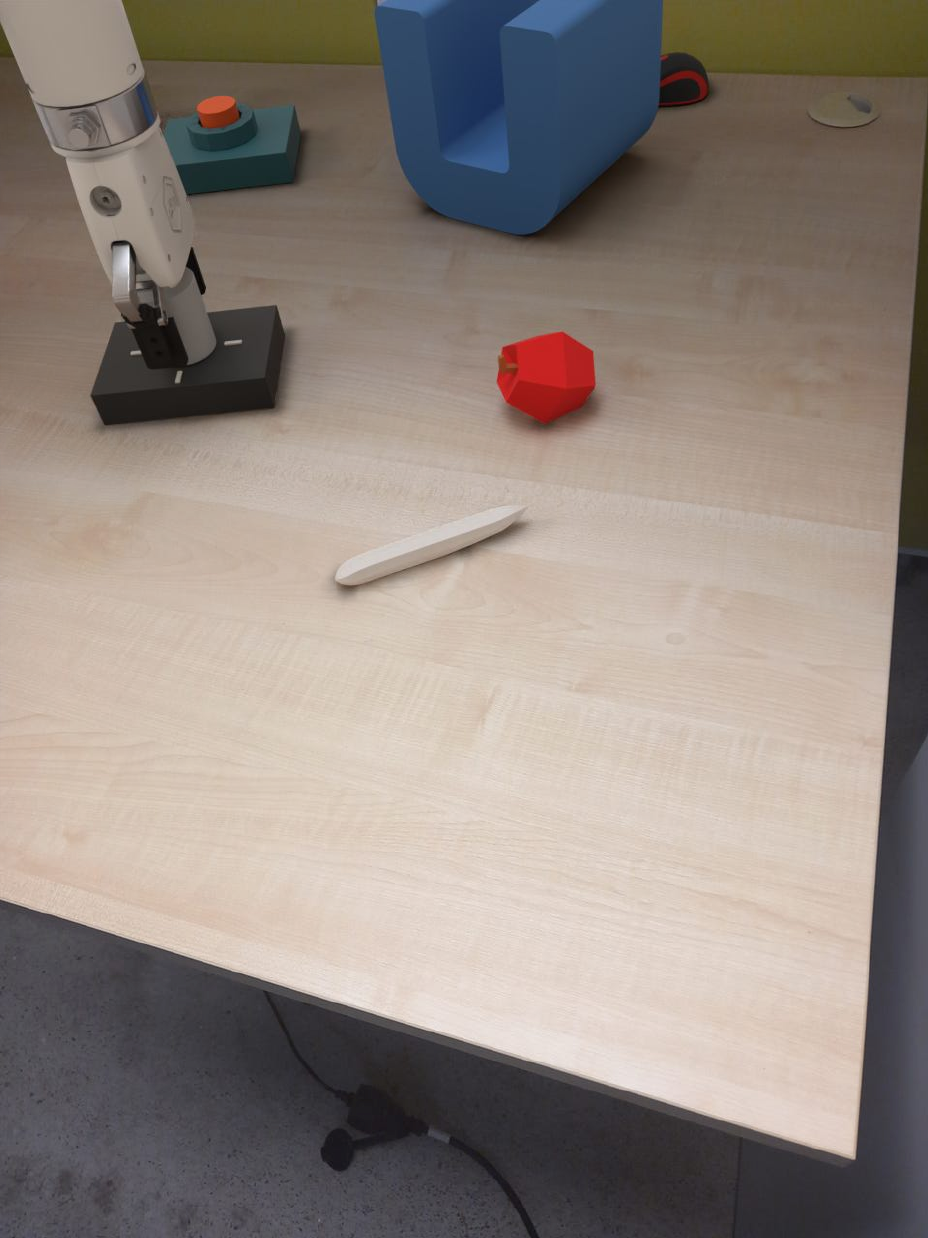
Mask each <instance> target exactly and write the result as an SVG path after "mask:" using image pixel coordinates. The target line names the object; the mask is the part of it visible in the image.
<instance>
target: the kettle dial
mask: <svg viewBox="0 0 928 1238" xmlns="http://www.w3.org/2000/svg"><path fill="white" fill-rule="evenodd" d="M147 280H152V279H151V278H150V277H149V275H148V274H139V275H137V276H136V282H138V281H147ZM164 293H165V300H166V307H167V314H168V317H173V318H174V320H175V323H176V326H177V328H178V331H179V334H180V337H181V339H182V342H183V345H184V347H185V350H186V353H187V355H188V363H187V365H190V364H194V363H196V362H199V361H201V360H203V359H204V358H206V357H207V356H208V355H210V354H211V353H212V351H213V350H214V348H215V346H216V338H215V335H214V332H213V329H212V326H211V323H210V320H209V317H208V314H207V308H206V306H205V302H204V300H203V297H202V295H201V294H200V291H199V288H198V285H197V282H196V279H195V276H194V273H193V272H192V271H191V270H190V269H189V268H187V267H185V270H184V273H183V276H182V278H181V280H180V282H179V283H178V285H177V286H176V287H173V288H170V287H169V286H167V287H164ZM137 294H138V296H139V298H140V302H141V303H142V304H143V303H147V304H148V305H150V306H152V307H153V308H154V301H153V294H152V291H149V292H140V293H137Z"/></svg>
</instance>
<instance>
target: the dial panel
mask: <svg viewBox="0 0 928 1238" xmlns="http://www.w3.org/2000/svg"><path fill="white" fill-rule="evenodd" d="M207 314H208V317H209V320H210V323H211V326H212V329H213V332H214V335H215V338H216V346H215V348H214V350H213V351H212V353H211V354H210V355H208V356H207V357H206V358H204V359H203V360H201V361H199V362H196V363H194V364H190V365H186V366H183V367H173V368H163V369H154V370H152V369H149V368H148V367H147V366H146V363H145V361H144V359H143V356H142V354H141V351H140V349H139V346H138V344H137V342H136V339H135V337H134V334H133V332H132V330H130V329H129V327H128V325H127V323H126V322H125V321H115V322H114V324H113V327H112V330H111V333H110V335H109V339H108V342H107V345H106V348H105V350H104V354H103V356H102V359H101V362H100V366H99V368H98V371H97V374H96V377H95V380H94V383H93V386H92V388H91V392H90V398H91V400H92V403H93V405H94V406H95V408H96V412H97V413H98V416H99V417H100V419H101V421H102V423H103V425H104V426H109V425H120V424H129V423H139V422H149V421H158V420H159V421H160V420H169V419H179V418H189V417H198V416H207V415H209V416H210V415H219V414H227V413H238V412H239V413H240V412H248V411H258V410H269V409H274V408H275V406H276V405H275V404H276V399H277V398H276V396H277V390H278V384H279V377H280V371H281V365H282V357H283V351H284V344H285V338H286V333H285V330H284V326H283V323H282V318H281V315H280V312H279V309H278V305H277V304H272V305H264V306H255V307H254V306H253V307H245V308H235V309H226V310H217V311H216V310H215V311H208V312H207Z"/></svg>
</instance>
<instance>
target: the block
mask: <svg viewBox="0 0 928 1238" xmlns="http://www.w3.org/2000/svg"><path fill="white" fill-rule="evenodd" d="M663 15H664V0H385V1H383V2H382V3H380V4H378V5H377V6H376V7H374V20H375V26H376V27H375V28H376V33H377V38H378V39H377V40H378V46H379V51H380V57H381V65H382V70H383V77H384V81H385V82H384V83H385V84H384V85H385V88H386V96H387V102H388V109H389V115H390V120H391V127H392V134H393V140H394V146H395V152H396V156H397V160H398V163H399V165H400V167H401V171H402V172H403V174H404V176H405V179H406V180H407V181H408V182H407V183H409V186H411V188H412V190H414V192H415V193H416V195H417V196H418V197H419V198H420V199H421V200H422V201H423V202H424V203H425V204H426V205H428V207H430V208H431V209H433V210H434V211H436V212H437V213H439V214H441V215H443V216H445V217H447V218H450V219H453V220H458V221H461V222H464V223H468V224H472V225H477V226H479V227H484V228H488V229H490V230H491V229H492V230H495V231H499V232H503V233H507V234H511V235H530V234H533V233H536V232H538V231H539V230H541V229H543V228H545V227H546V225H548V224H549V223H550V222H551V221H552V220H554V219H555V217H556V216H558V215H559V214H560V213H561V212H562V211H563V210H564V209H565V208H566V207H567V206H568V205H570V204H571V203H572V202H573V201H574V200H575V199H577V197H579V195H580V194H582V193H583V192H584V191H585V190H586V189H587V188H588V187H589V186H590V185H592V184H593V183H594V182H595V181H596V180H597V179H598V178H599V177H600V176H602V174H603V173H605V172H606V171H607V170H608V169H609V168H610V167H612V165H613V164H615V162H617V161H618V160H619V159H620V158H621V157H622V156H623V155H624V154H625V153H627V152H628V151H629V150H630V149H631V148H633V146H634V145H636V143H637V142H639V141H640V140H641V139H642V138H643V137H644V136H645V135H646V134H647V133H648V132H649V130H650V129H651V126H652V125H653V123H654V122H655V119H656V117H657V115H658V110H659V107H658V105H659V95H660V70H661V56H662V41H663Z"/></svg>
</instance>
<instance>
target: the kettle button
mask: <svg viewBox="0 0 928 1238" xmlns="http://www.w3.org/2000/svg"><path fill="white" fill-rule="evenodd" d="M236 103H237V102H236V99H235V98H234V97H233V96H229V95H217V96H212V97H208V98H206V99H204V100H202V101H201V102H200V103H199V104H197V106H196V112H198V114H199V118H200V121H201V124H202V127H204V128H210V129H212V128H221V127H225V126H227V125H230V124H233V123H235V122H236V121H237V120H239V119H240V117H239V113H238V109H237V105H236Z"/></svg>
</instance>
